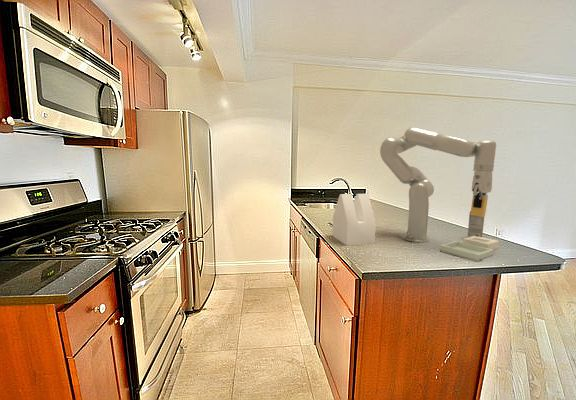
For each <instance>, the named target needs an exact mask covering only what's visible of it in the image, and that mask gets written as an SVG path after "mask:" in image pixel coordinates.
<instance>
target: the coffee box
mask: <svg viewBox="0 0 576 400" xmlns="http://www.w3.org/2000/svg"><path fill="white" fill-rule="evenodd" d="M470 213H471V210H470V212H469V217H468V226H467V227H468V230H467V236H466V238H468V237H472V236H478V237H482V238H483V233H484V223H485V216H484V217H480V216H474V215H470Z"/></svg>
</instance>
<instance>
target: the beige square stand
mask: <svg viewBox="0 0 576 400" xmlns="http://www.w3.org/2000/svg"><path fill="white" fill-rule="evenodd" d="M462 242H463V243H467V244H471V245H476V246H480V247H484V248H488V249H493V250H494V251H495V250H497V249H499V245H500V241H499V240H497V239H492V238H487V237H483V236H482V237H478V236H472V237H468V238H467V237H465V238H463V239H462Z"/></svg>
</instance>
